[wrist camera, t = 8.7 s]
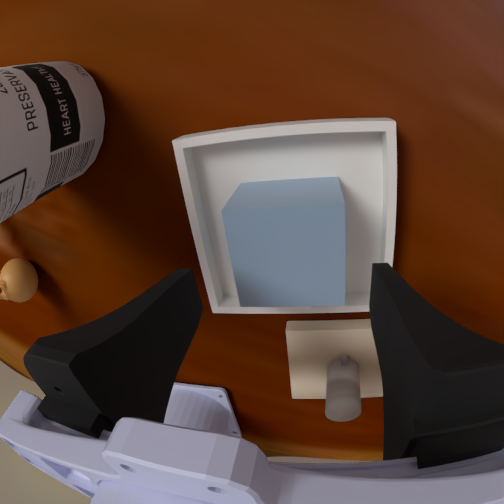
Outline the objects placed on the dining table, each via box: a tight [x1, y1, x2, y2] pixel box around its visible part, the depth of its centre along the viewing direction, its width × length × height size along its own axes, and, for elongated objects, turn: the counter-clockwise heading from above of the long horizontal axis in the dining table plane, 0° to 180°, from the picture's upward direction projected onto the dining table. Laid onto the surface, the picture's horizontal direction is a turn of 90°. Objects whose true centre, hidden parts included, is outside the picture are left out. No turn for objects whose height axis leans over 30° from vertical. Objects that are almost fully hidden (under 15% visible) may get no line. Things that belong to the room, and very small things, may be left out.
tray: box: [172, 118, 397, 314], centre depth 17 cm, size 11×11×2 cm
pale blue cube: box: [221, 177, 346, 309], centre depth 16 cm, size 5×6×4 cm
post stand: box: [286, 319, 383, 422], centre depth 21 cm, size 8×8×5 cm
